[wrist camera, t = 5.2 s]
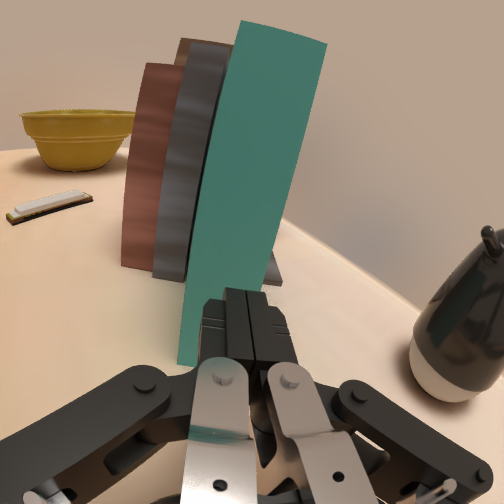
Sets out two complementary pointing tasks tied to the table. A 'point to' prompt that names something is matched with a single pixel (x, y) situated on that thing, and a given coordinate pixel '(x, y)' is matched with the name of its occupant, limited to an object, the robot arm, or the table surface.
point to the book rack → (173, 159)
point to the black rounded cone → (464, 326)
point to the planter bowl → (78, 136)
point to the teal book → (248, 167)
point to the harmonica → (47, 206)
